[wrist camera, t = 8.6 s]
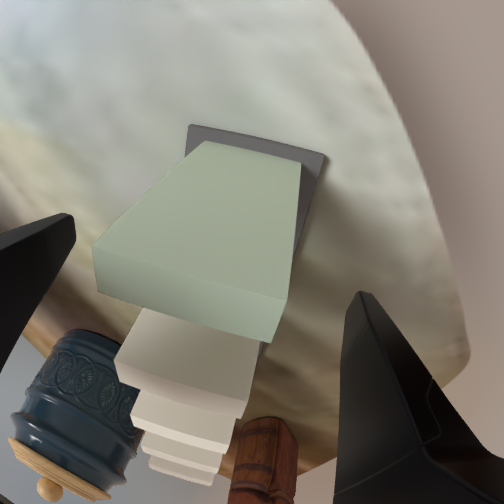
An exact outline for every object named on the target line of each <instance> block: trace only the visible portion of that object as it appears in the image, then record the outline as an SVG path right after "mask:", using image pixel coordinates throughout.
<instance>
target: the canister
mask: <svg viewBox="0 0 504 504" xmlns="http://www.w3.org/2000/svg"><path fill="white" fill-rule="evenodd" d="M120 348H121V346H120V345H118V344H116V343H115V342H113V341H111V340H109V339H107V338H105V337H103V336H100V335H98V334H95V333H92V332H88V331H83V330H71V331H68V332H67V333H65V334H64V336H63V337H61V338H60V339H59V340H58V341H57V342H56V344H55V345H54V346H53V348H52V351H51V354H50V355H49V357H48V358H47V360H46V361H45V363H44V365H43V366H42V368H41V369H40V371H39V372H38V374H37V375H36V377H35V379H34V380H33V382H32V384H31V385H30V387H28V388H27V389H26V390H25V395H26V399H25V402H24V403H23V406H22V408H21V410H20V411H19V412H15V413H12V414H11V420H12V422H13V424H14V426H15V439H13V438H11V437H9V438H8V441H9V443H10V445H11V446H12V448H13V450H14V452H15V456H16V458H17V459H18V460H20V461H21V462H23V463H24V464H25V465H27V466H28V467H30V468H31V469H33V470H34V471H36V472H38V473H39V474H41V475H42V476H44V477H42V478H41V479H40V480H39V481H38V484H37V490H38V492H39V494H40V496H41V497H43V498H44V499H46V500H48V501H50V502H56V501H58V500H60V499H61V497H62V495H63V489H62V487H63V488H65V489H67V490H69V491H71V492H72V493H74V494H76V495H78V496H80V497H82V498H85V499H87V500H89V501H91V502H95V501H96V500H110V499H111V496H110V495H109V494H107V492H108V491H109V490H110V489H111V488H112V487H113V486H117V485H124V484H126V482H127V481H126V478H125V476H124V471H125V469H126V467H127V465H128V463H129V461H130V459H134V458H135V457H136V455H137V452H136V451H137V448H138V445H139V443H140V440H141V438H142V435H143V433H144V430H143V429H140V428H138V427H135V426H134V425H133V422H132V419H131V416H130V413H131V411H132V409H133V406H134V404H135V402H136V400H137V397H138V395H139V393H140V391H141V389H138V388H135V387H132V386H130V385H127V384H125V383H122V382H120V381H119V378H118V374H117V370H116V367H115V363H114V359H115V357H116V355H117V353H118V351H119V350H120Z"/></svg>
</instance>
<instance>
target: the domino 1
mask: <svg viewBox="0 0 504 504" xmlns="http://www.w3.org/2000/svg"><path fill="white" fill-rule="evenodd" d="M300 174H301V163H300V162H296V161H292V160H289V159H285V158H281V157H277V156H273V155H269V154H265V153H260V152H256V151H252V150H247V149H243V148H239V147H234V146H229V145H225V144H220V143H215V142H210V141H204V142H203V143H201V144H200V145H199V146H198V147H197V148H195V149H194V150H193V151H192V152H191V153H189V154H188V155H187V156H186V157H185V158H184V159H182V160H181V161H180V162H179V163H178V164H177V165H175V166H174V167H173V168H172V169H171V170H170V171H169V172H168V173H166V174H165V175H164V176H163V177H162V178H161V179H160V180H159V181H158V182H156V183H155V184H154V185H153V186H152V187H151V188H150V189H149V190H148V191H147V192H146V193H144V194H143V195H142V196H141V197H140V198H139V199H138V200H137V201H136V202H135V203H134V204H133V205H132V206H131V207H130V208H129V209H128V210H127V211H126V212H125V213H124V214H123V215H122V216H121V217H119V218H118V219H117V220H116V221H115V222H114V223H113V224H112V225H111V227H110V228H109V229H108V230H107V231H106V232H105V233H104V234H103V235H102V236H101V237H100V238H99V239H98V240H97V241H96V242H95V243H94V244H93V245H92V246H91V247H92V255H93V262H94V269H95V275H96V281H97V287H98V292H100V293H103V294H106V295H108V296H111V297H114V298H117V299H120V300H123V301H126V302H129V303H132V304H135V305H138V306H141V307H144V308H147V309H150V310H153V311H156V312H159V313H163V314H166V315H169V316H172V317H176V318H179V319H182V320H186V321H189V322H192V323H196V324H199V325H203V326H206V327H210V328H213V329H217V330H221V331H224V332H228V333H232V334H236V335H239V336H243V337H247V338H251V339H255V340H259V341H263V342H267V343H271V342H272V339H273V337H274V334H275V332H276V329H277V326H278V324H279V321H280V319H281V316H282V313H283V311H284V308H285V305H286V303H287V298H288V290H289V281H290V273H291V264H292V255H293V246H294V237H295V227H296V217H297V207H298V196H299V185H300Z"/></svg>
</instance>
